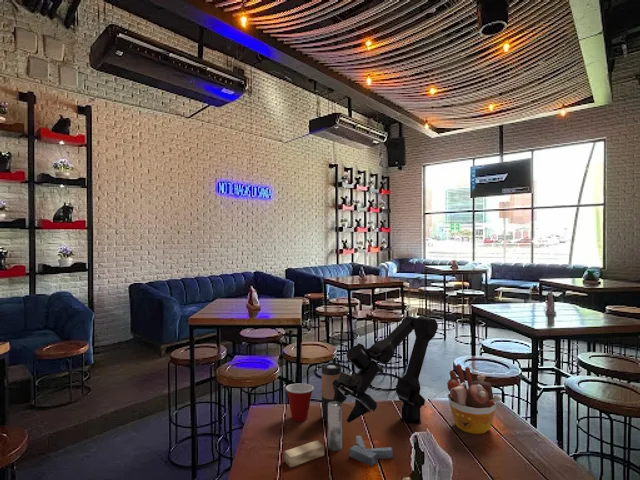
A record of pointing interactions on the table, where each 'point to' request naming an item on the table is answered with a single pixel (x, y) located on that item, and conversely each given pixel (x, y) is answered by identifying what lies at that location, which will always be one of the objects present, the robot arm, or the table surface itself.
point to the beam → (304, 453)
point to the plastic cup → (299, 400)
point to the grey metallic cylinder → (334, 426)
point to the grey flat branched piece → (369, 452)
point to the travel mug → (328, 385)
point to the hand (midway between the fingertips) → (339, 416)
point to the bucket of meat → (471, 402)
